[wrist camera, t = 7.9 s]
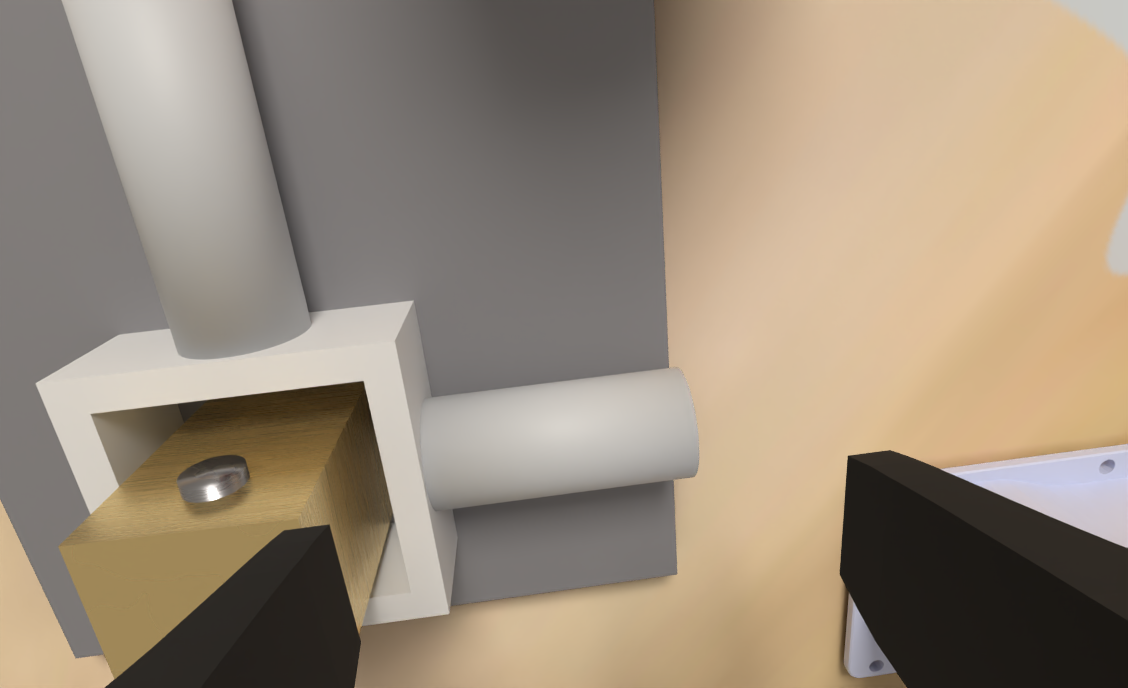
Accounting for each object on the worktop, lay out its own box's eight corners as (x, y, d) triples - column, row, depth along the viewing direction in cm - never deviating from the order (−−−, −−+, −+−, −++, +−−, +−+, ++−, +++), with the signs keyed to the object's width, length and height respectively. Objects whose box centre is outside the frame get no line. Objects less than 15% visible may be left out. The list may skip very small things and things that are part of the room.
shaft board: (639, -103, 14) (687, -178, 11) (669, 553, 21) (706, 651, 17) (-203, -31, 13) (-476, -85, 10) (95, 632, 20) (0, 754, 16)
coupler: (365, 370, 17) (294, 503, 11) (394, 519, 18) (346, 702, 13) (206, 387, 16) (51, 531, 11) (251, 536, 18) (136, 730, 12)
